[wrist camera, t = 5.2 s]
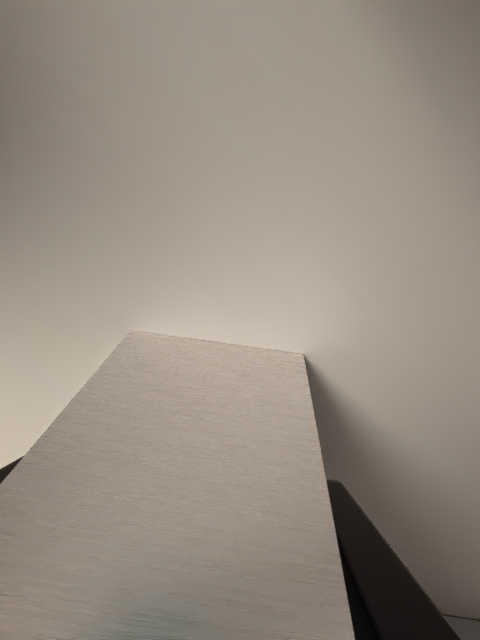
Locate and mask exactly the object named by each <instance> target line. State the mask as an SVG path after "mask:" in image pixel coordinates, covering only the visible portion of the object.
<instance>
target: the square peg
mask: <svg viewBox="0 0 480 640" xmlns="http://www.w3.org/2000/svg"><path fill="white" fill-rule="evenodd" d="M0 640H355V637H354V631H353V626H352V620H351V615H350V609H349V603H348V598H347V592H346V587H345V581H344V576H343V570H342V565H341V559H340V554H339V548H338V543H337V537H336V531H335V526H334V520H333V515H332V509H331V504H330V498H329V493H328V487H327V482H326V476H325V471H324V465H323V459H322V454H321V448H320V443H319V437H318V432H317V426H316V421H315V415H314V410H313V404H312V399H311V393H310V387H309V382H308V376H307V371H306V365H305V360H304V354H298V353H291V352H284V351H277V350H270V349H262V348H255V347H248V346H241V345H233V344H226V343H219V342H212V341H205V340H197V339H190V338H183V337H176V336H168V335H161V334H154V333H147V332H139V331H132V330H131V331H130V332H129V333H128V334H127V335H126V336H125V338H124V339H123V340H122V341H121V342H120V344H119V345H118V346H117V347H116V348H115V349H114V351H113V352H112V353H111V354H110V355H109V357H108V358H107V359H106V360H105V361H104V362H103V364H102V365H101V366H100V367H99V368H98V370H97V371H96V372H95V373H94V374H93V375H92V377H91V378H90V379H89V380H88V381H87V383H86V384H85V385H84V386H83V387H82V388H81V390H80V391H79V392H78V393H77V394H76V395H75V397H74V398H73V399H72V400H71V401H70V403H69V404H68V405H67V406H66V407H65V408H64V410H63V411H62V412H61V413H60V414H59V416H58V417H57V418H56V419H55V420H54V421H53V423H52V424H51V425H50V426H49V427H48V429H47V430H46V431H45V432H44V433H43V434H42V436H41V437H40V438H39V439H38V440H37V442H36V443H35V444H34V445H33V446H32V447H31V449H30V450H29V451H28V452H27V453H26V455H25V456H24V457H23V458H22V459H21V460H20V462H19V463H18V464H17V465H16V466H15V467H14V469H13V470H12V471H11V472H10V473H9V475H8V476H7V477H6V478H5V479H4V480H3V482H2V483H1V484H0Z"/></svg>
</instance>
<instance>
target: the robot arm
mask: <svg viewBox="0 0 480 640" xmlns="http://www.w3.org/2000/svg"><path fill="white" fill-rule="evenodd" d="M24 456H25V455H24ZM24 456H23V457H24ZM23 457H21V458H19V459H17V460H16V461H14V462H12V463H10V464H9V465H7V466H5V467H3V468H1V469H0V484H1V483H2V482H3V480H4V479H5V478H6V477H7V476H8V475H9V473H10V472H11V471H12V470H13V469H14V467H15V466H16V465H17V464H18V463H19V462H20V460H21V459H22V458H23ZM326 482H327V487H328V493H329V498H330V504H331V509H332V515H333V520H334V526H335V531H336V537H337V543H338V548H339V554H340V559H341V565H342V570H343V576H344V581H345V587H346V592H347V598H348V603H349V609H350V615H351V620H352V626H353V631H354V637H355V640H461V638H460V637H459V636H458V634H457V633H456V632H455V630H454V629H453V628H452V627H451V625H450V624H449V623H448V621H447V620H446V619H445V617H444V616H443V615H442V614H441V612H440V611H439V610H438V608H437V607H436V606H435V604H434V603H433V602H432V600H431V599H430V598H429V597H428V595H427V594H426V593H425V591H424V590H423V589H422V587H421V586H420V585H419V584H418V582H417V581H416V580H415V578H414V577H413V576H412V574H411V573H410V572H409V570H408V569H407V568H406V567H405V565H404V564H403V563H402V561H401V560H400V559H399V557H398V556H397V555H396V554H395V552H394V551H393V550H392V548H391V547H390V546H389V544H388V543H387V542H386V540H385V539H384V538H383V537H382V535H381V534H380V533H379V531H378V530H377V529H376V527H375V526H374V525H373V523H372V522H371V521H370V520H369V518H368V517H367V516H366V514H365V513H364V512H363V510H362V509H361V508H360V507H359V505H358V504H357V503H356V501H355V500H354V499H353V497H352V496H351V495H350V493H349V492H348V491H347V490H346V488H345V487H344V486H343V484H342V483H340V482H339V481H335V480H328V479H326Z"/></svg>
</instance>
